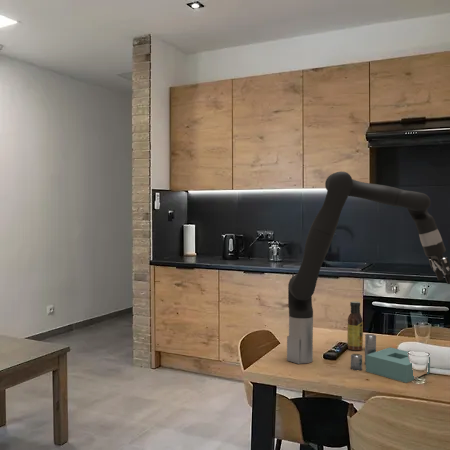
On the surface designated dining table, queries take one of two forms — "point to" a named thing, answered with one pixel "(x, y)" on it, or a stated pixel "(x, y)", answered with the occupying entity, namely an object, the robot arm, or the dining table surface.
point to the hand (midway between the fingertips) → (445, 281)
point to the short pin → (356, 361)
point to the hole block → (391, 364)
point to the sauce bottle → (355, 327)
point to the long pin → (370, 344)
